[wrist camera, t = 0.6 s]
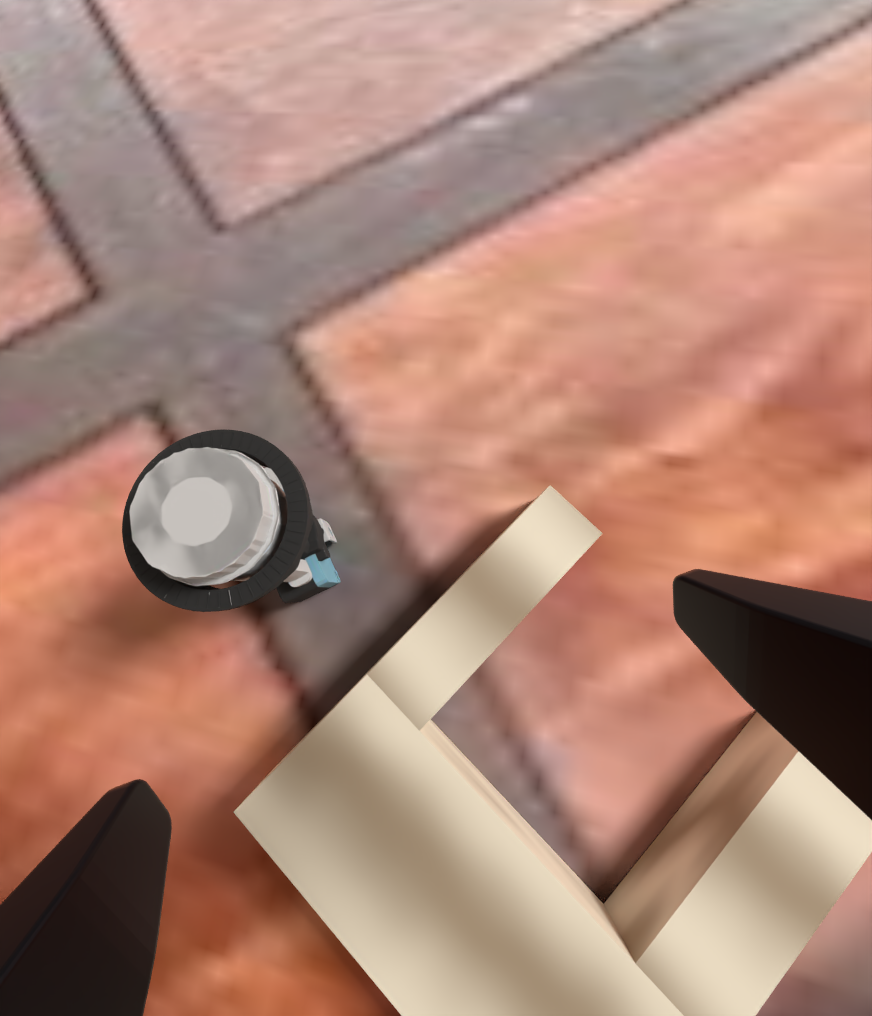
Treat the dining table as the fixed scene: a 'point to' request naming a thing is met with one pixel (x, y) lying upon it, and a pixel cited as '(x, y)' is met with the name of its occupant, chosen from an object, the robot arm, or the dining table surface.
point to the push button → (225, 525)
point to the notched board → (525, 855)
